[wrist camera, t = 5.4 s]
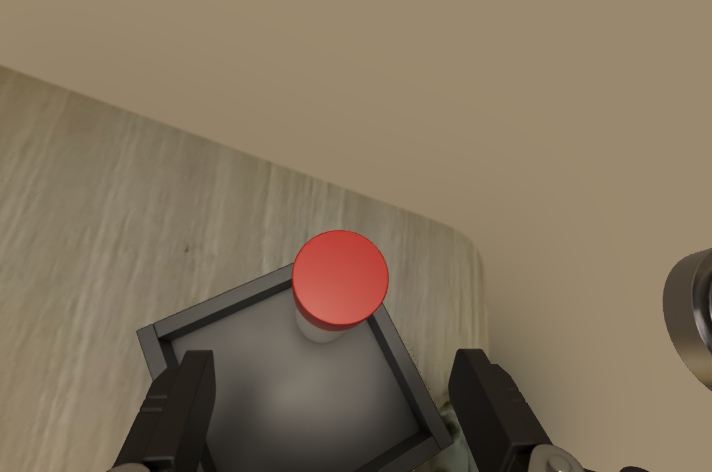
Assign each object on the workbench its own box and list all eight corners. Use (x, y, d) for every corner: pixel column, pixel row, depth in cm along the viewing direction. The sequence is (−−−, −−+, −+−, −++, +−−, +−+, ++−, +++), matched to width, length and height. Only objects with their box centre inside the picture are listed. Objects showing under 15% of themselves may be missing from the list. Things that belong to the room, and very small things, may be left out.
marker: (335, 280, 23) (362, 215, 13) (360, 329, 22) (405, 298, 13) (285, 303, 22) (276, 252, 13) (308, 356, 21) (317, 343, 12)
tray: (344, 251, 24) (349, 237, 22) (436, 434, 21) (454, 443, 19) (154, 335, 21) (135, 330, 19) (233, 562, 18) (223, 592, 16)
